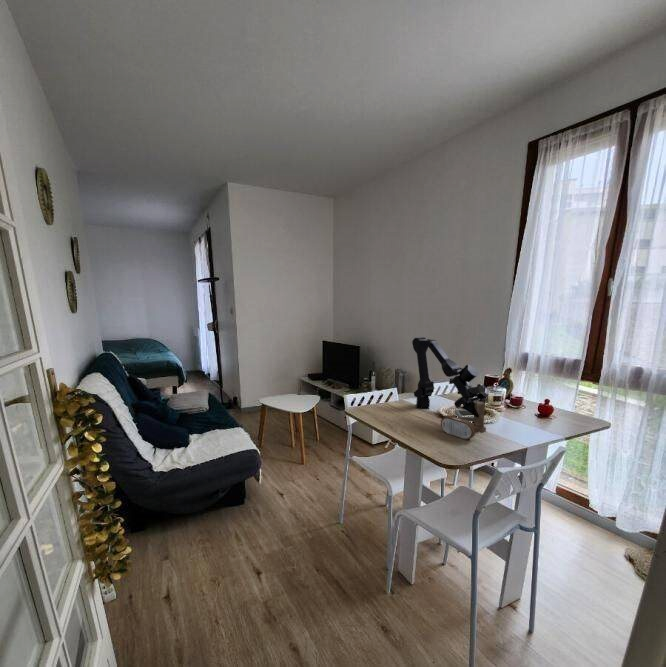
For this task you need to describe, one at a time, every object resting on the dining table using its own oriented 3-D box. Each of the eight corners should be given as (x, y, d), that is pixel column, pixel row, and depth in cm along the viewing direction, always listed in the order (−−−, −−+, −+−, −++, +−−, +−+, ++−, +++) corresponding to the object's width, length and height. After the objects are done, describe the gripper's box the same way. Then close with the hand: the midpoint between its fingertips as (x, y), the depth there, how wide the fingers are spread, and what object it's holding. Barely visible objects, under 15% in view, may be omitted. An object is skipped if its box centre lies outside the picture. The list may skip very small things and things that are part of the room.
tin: (475, 440, 138) (476, 422, 137) (472, 443, 136) (473, 424, 135) (442, 430, 149) (443, 412, 148) (439, 432, 147) (440, 414, 146)
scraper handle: (474, 431, 148) (476, 404, 147) (471, 426, 153) (472, 400, 152) (485, 431, 148) (487, 404, 146) (482, 427, 152) (483, 401, 151)
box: (460, 423, 158) (460, 417, 157) (455, 415, 168) (455, 409, 168) (483, 424, 156) (484, 418, 156) (476, 416, 167) (477, 410, 167)
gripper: (461, 380, 146) (481, 411, 138) (485, 376, 156) (506, 404, 148) (446, 393, 154) (464, 422, 146) (470, 387, 163) (489, 415, 155)
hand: (481, 415), depth 148 cm, fingers closed on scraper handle, 5 cm apart
